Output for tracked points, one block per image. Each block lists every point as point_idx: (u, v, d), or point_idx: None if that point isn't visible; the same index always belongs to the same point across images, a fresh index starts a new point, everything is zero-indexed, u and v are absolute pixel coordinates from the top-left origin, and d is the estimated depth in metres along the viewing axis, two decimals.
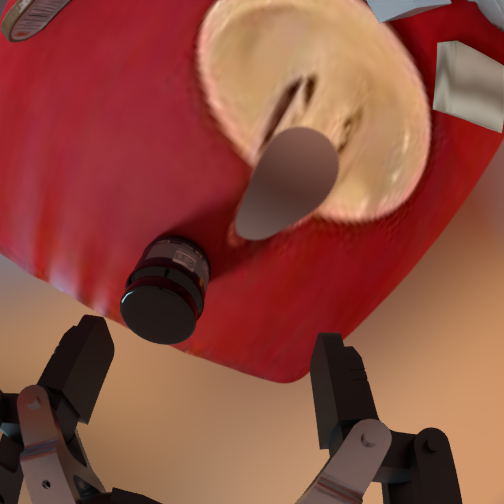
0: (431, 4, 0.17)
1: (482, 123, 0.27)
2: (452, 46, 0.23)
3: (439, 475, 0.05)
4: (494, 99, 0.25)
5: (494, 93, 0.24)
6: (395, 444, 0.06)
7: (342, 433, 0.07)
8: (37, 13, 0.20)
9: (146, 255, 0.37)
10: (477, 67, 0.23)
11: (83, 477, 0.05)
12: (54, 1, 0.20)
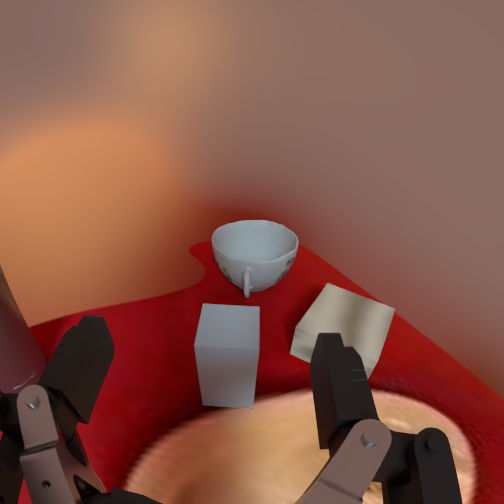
0: (257, 330, 0.25)
1: (387, 328, 0.32)
2: (300, 335, 0.33)
3: (439, 475, 0.05)
4: (361, 307, 0.36)
5: (354, 306, 0.36)
6: (395, 444, 0.06)
7: (342, 433, 0.07)
8: None
9: None
10: (327, 316, 0.34)
11: (83, 477, 0.05)
12: None
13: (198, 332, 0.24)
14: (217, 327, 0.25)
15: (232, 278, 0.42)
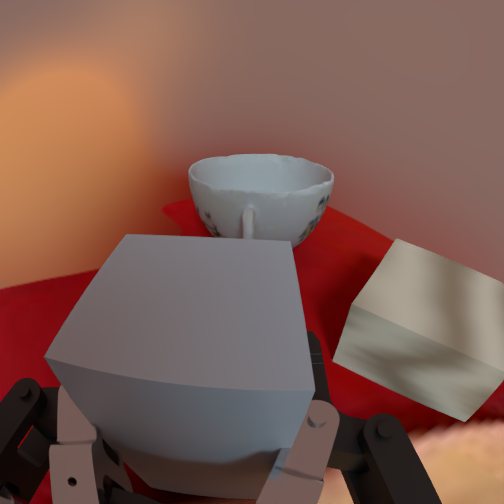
0: (296, 307, 0.06)
1: None
2: (360, 323, 0.15)
3: (399, 460, 0.05)
4: (458, 277, 0.17)
5: (447, 274, 0.17)
6: (346, 428, 0.07)
7: None
8: None
9: None
10: (409, 287, 0.16)
11: (113, 477, 0.05)
12: None
13: (76, 311, 0.06)
14: (146, 298, 0.06)
15: (222, 232, 0.23)
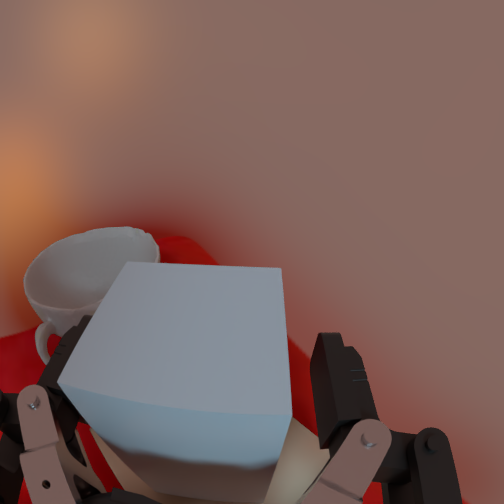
0: (281, 336, 0.07)
1: None
2: None
3: (439, 475, 0.05)
4: None
5: None
6: (395, 444, 0.06)
7: (342, 433, 0.07)
8: None
9: None
10: None
11: (83, 477, 0.05)
12: None
13: (83, 340, 0.06)
14: (145, 328, 0.07)
15: None
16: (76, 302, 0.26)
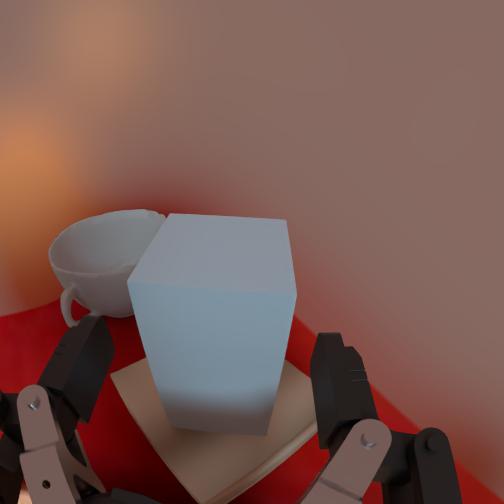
0: (287, 255, 0.11)
1: (284, 440, 0.14)
2: None
3: (439, 475, 0.05)
4: None
5: None
6: (395, 444, 0.06)
7: (342, 433, 0.07)
8: None
9: None
10: None
11: (83, 477, 0.05)
12: None
13: (145, 257, 0.10)
14: (192, 249, 0.11)
15: None
16: None
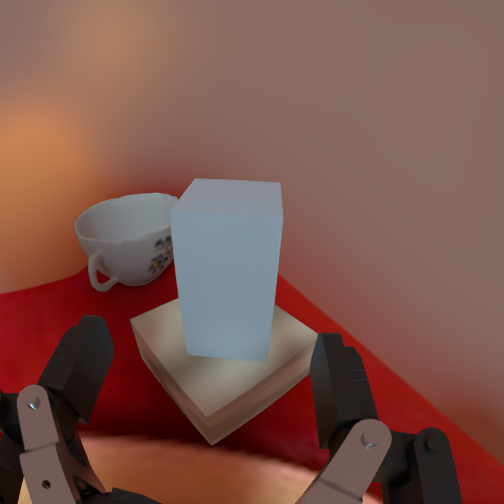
0: (279, 200, 0.15)
1: (276, 366, 0.18)
2: (136, 334, 0.21)
3: (439, 475, 0.05)
4: None
5: None
6: (395, 444, 0.06)
7: (342, 433, 0.07)
8: None
9: None
10: None
11: (83, 477, 0.05)
12: None
13: (180, 200, 0.15)
14: (213, 196, 0.15)
15: None
16: None
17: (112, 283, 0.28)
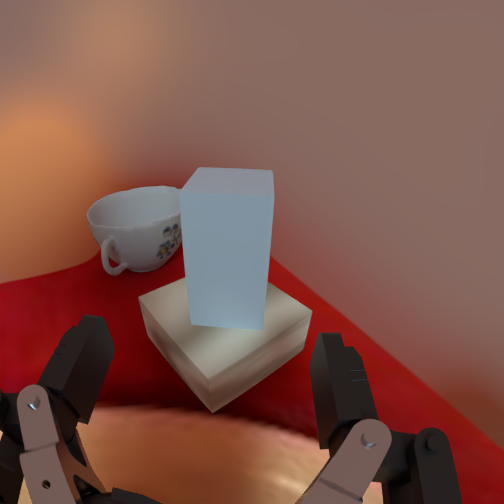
0: (271, 183, 0.18)
1: (271, 336, 0.21)
2: (144, 311, 0.23)
3: (439, 475, 0.05)
4: None
5: None
6: (395, 444, 0.06)
7: (342, 433, 0.07)
8: None
9: None
10: None
11: (83, 477, 0.05)
12: None
13: (187, 184, 0.17)
14: (215, 181, 0.18)
15: None
16: None
17: (122, 268, 0.30)
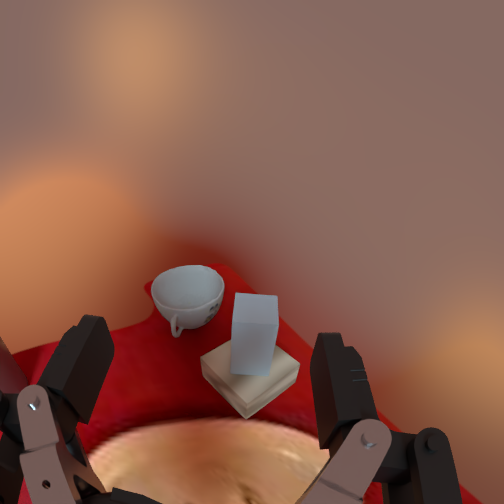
0: (277, 311, 0.35)
1: (277, 379, 0.38)
2: (203, 364, 0.40)
3: (439, 475, 0.05)
4: None
5: None
6: (395, 444, 0.06)
7: (342, 433, 0.07)
8: None
9: None
10: None
11: (83, 477, 0.05)
12: None
13: (234, 313, 0.34)
14: (248, 309, 0.35)
15: (167, 319, 0.48)
16: (171, 305, 0.53)
17: (181, 330, 0.47)
